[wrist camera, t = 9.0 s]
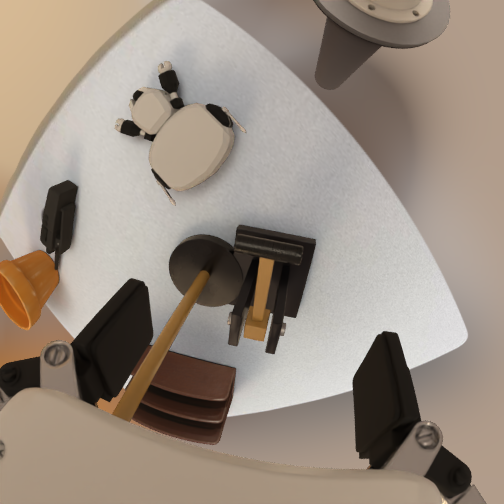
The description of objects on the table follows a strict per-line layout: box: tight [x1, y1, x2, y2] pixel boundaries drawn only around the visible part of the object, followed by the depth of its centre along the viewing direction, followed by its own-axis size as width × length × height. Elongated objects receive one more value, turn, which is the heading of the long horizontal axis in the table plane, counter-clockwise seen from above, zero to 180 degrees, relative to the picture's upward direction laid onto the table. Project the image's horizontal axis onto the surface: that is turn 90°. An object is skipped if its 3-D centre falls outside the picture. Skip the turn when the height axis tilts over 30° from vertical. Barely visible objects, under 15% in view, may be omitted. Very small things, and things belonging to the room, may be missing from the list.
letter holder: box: [125, 345, 236, 445], centre depth 46 cm, size 10×20×14 cm, turn 84°
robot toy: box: [115, 61, 246, 206], centre depth 30 cm, size 12×4×15 cm
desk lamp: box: [112, 235, 243, 422], centre depth 24 cm, size 13×13×38 cm
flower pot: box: [0, 250, 59, 330], centre depth 43 cm, size 14×14×13 cm
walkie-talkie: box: [40, 180, 77, 270], centre depth 40 cm, size 6×6×20 cm
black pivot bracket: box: [227, 225, 316, 354], centre depth 33 cm, size 12×10×13 cm
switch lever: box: [234, 234, 303, 342], centre depth 25 cm, size 13×5×2 cm, turn 172°
